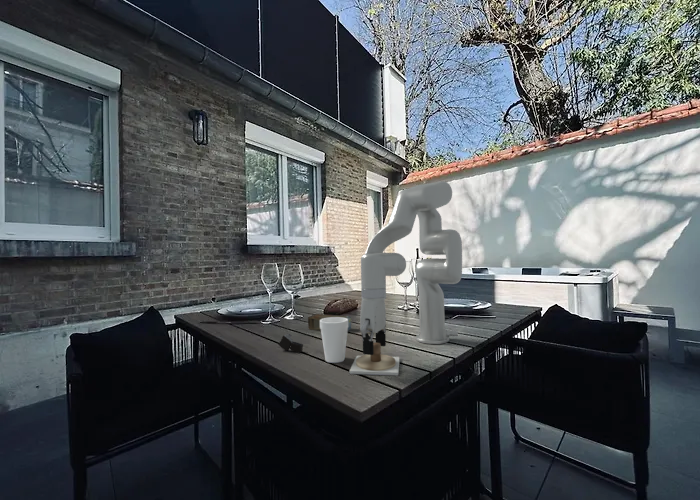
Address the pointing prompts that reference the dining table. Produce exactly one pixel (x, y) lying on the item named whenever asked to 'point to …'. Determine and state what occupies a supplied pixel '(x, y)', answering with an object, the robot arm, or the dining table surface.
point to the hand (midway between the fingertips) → (374, 349)
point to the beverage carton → (315, 319)
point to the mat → (391, 371)
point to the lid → (376, 360)
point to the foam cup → (334, 338)
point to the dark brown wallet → (290, 344)
